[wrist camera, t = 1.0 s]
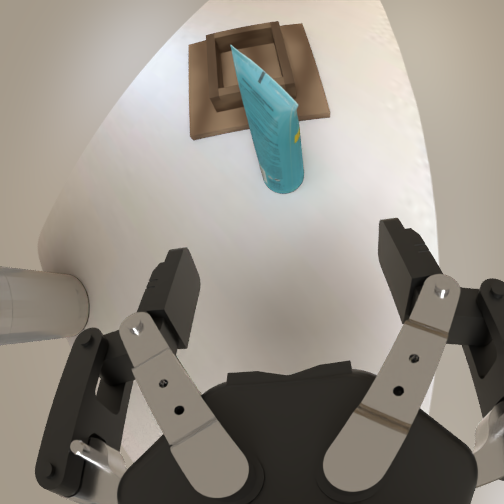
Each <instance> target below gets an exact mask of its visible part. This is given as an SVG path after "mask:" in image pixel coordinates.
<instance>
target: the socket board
mask: <svg viewBox="0 0 504 504" xmlns="http://www.w3.org/2000/svg"><path fill="white" fill-rule="evenodd" d="M230 45H232V46H233V47H234V48H236V49H237V50H238V51H239V52H241V53H242V54H244V55H245V56H247V57H248V58H249V59H251V60H252V61H253V62H254V63H255V64H257V65H258V66H259V67H260V68H261V69H263V70H264V71H265V72H266V73H267V74H268V75H269V76H270V77H271V78H272V79H273V80H275V81H276V82H277V83H278V84H279V85H280V86H281V87H282V88H283V89H284V90H285V91H286V92H287V93H288V94H289V95H290V96H291V97H292V98H293V99H294V100H295V101H296V102H297V104H298V108H297V116H298V121H303V120H311V119H319V118H328V117H330V110H329V107H328V103H327V100H326V96H325V93H324V89H323V86H322V82H321V79H320V76H319V72H318V69H317V66H316V63H315V60H314V57H313V54H312V51H311V48H310V45H309V42H308V39H307V36H306V33H305V30H304V27H303V25H302V23H301V24H292V25H284V26H280V25H279V22H278V21H276V22H270V23H263V24H257V25H251V26H246V27H241V28H236V29H231V30H226V31H222V32H218V33H213V34H209V35H206V40H205V41H202V42H198V43H194V44H190V45H189V117H190V137H191V138H192V139H193V140H197V139H201V138H206V137H210V136H215V135H220V134H225V133H230V132H235V131H240V130H245V129H250V127H249V124H248V120H247V116H246V112H245V108H244V104H243V101H242V97H241V93H240V88H239V84H238V80H237V75H236V71H235V66H234V61H233V55H232V50H231V46H230Z"/></svg>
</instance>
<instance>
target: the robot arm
mask: <svg viewBox="0 0 504 504" xmlns="http://www.w3.org/2000/svg"><path fill="white" fill-rule="evenodd" d="M378 257H379V262H380V265H381V268H382V270H383V273H384V275H385V278H386V281H387V283H388V286H389V288H390V291H391V294H392V296H393V299H394V302H395V304H396V307H397V310H398V313H399V315H400V318H401V321H402V324H404V325H403V327H402V329H401V331H400V333H399V335H398V337H397V339H396V341H395V343H394V345H393V347H392V349H391V351H390V353H389V355H388V356H387V358H386V360H385V362H384V364H383V366H382V368H381V369H380V371H379V373H378V375H375V374H372V373H370V372H366V371H362V370H357V369H352V367H351V362H350V361H344V362H337V363H330V364H323V365H318V366H315V367H313V368H310V369H307V370H304V371H301V372H298V373H295V374H292V375H280V374H272V373H265V372H259V371H254V372H238V373H228V375H227V382H224V383H222V384H219V385H217V386H215V387H213V388H211V389H209V390H208V391H206V392H205V393H204V394H201V392H200V391H199V390H198V388H197V387H196V385H195V384H194V382H193V381H192V379H191V378H190V376H189V375H188V373H187V372H186V370H185V369H184V367H183V366H182V364H181V363H180V361H179V360H178V358H177V357H176V353H177V349H187V347H188V342H189V337H190V332H191V328H192V323H193V318H194V314H195V309H196V305H197V300H198V296H199V291H200V277H199V274H198V271H197V269H196V266H195V264H194V261H193V259H192V256H191V254H190V251H189V250H188V248H186V247H185V248H178V249H172V250H169V252H168V254H167V257H166V259H165V262H163V263H160V264H159V265H158V266H157V267H156V268H155V269H154V271H153V272H152V275H151V277H150V280H149V281H150V282H148V285H147V289H146V290H145V292H144V295H143V297H142V300H141V303H140V305H139V308H138V310H137V313H134V314H132V315H130V316H128V317H127V318H126V319H125V320H124V321H123V322H122V324H121V326H120V329H119V330H117V331H114V332H111V333H108V334H105V335H103V334H102V333H101V331H100V330H99V329H97V328H88V329H86V330H84V331H83V332H81V331H82V330H83V328H84V326H85V325H86V322H87V319H88V313H89V303H88V297H87V294H86V291H85V289H84V287H83V285H82V284H81V282H80V281H79V280H78V279H77V278H76V277H74V276H72V275H68V274H59V273H51V272H43V271H34V270H26V269H18V268H10V267H2V266H0V345H6V344H16V343H25V342H33V341H42V340H50V339H58V338H65V337H72V336H75V335H77V334H79V333H80V332H81V333H80V334H79V335H78V337H77V338H76V340H75V342H74V344H73V347H72V349H71V352H70V355H69V357H68V360H67V363H66V366H65V368H64V371H63V374H62V377H61V379H60V383H59V385H58V389H57V391H56V395H55V397H54V400H53V404H52V407H51V410H50V413H49V417H48V420H47V424H46V427H45V431H44V434H43V438H42V442H41V446H40V450H39V454H38V458H37V462H36V467H35V475H36V479H37V481H38V483H39V485H40V486H41V487H43V488H44V489H47V490H49V491H51V492H54V493H56V494H58V495H59V496H61V497H63V498H66V499H69V500H71V501H74V502H77V503H79V504H470V503H471V500H472V497H473V494H474V491H475V488H478V487H480V486H483V485H486V484H488V483H491V482H493V481H496V480H498V479H499V480H502V481H504V282H503V281H501V280H498V279H487V280H485V281H484V282H483V283H482V284H481V287H480V289H470V288H462V287H460V286H459V284H458V283H457V281H455V280H454V279H453V278H452V277H450V276H447V275H444V274H443V273H442V271H441V269H440V268H439V266H438V264H437V262H436V261H435V259H434V257H433V256H432V254H431V252H429V249H428V247H427V246H426V245H425V242H424V241H423V239H422V238H421V236H420V235H419V234H418V233H417V232H415V231H414V230H412V229H411V228H409V229H405V228H404V227H403V225H402V224H401V222H400V220H399V219H398V218H391V219H384V220H380V222H379V241H378ZM445 344H458V345H462V347H463V350H464V353H465V356H466V359H467V362H468V365H469V368H470V372H471V375H472V378H473V382H474V386H475V389H476V393H477V396H478V400H479V404H480V408H481V412H482V416H483V419H482V420H481V421H480V422H479V424H478V425H477V428H476V431H475V446H474V450H473V452H472V451H471V450H470V448H469V447H468V446H467V445H466V444H465V443H463V442H462V441H461V440H460V439H458V438H457V437H456V436H454V435H453V434H452V433H451V432H449V431H448V430H447V429H446V428H444V427H443V426H442V425H440V424H439V423H438V422H437V421H435V420H434V419H433V418H432V417H430V416H429V415H428V414H427V413H425V412H424V411H423V410H421V409H420V406H421V404H422V402H423V400H424V397H425V395H426V393H427V391H428V388H429V386H430V384H431V381H432V379H433V376H434V374H435V371H436V369H437V366H438V363H439V361H440V358H441V356H442V353H443V350H444V347H445ZM99 377H100V378H101V380H100V384H99V387H98V391H97V395H95V389H96V385H97V382H98V378H99ZM135 379H136V381H137V383H138V385H139V387H140V389H141V391H142V393H143V395H144V398H145V400H146V402H147V404H148V405H149V407H150V409H151V411H152V413H153V415H154V417H155V419H156V421H157V423H158V425H159V426H160V428H161V430H162V432H163V435H162V436H161V437H160V438H159V439H158V440H157V441H156V442H155V443H154V444H153V445H152V446H151V447H150V448H149V449H148V450H147V451H146V452H145V453H144V454H143V455H142V456H141V457H140V458H139V459H138V460H137V461H136V462H134V463H133V464H132V465H131V466H130V467H129V468H128V469H127V468H126V467H125V461H124V458H123V456H122V455H121V454H120V446H121V440H122V435H123V429H124V424H125V419H126V413H127V408H128V404H129V399H130V394H131V389H132V385H133V380H135Z"/></svg>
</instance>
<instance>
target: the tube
mask: <svg viewBox="0 0 504 504" xmlns="http://www.w3.org/2000/svg"><path fill="white" fill-rule="evenodd" d="M230 46H231V50H232V55H233V61H234V66H235V71H236V75H237V80H238V84H239V88H240V93H241V97H242V101H243V104H244V108H245V112H246V116H247V120H248V124H249V127H250V131H251V135H252V139H253V142H254V146H255V150H256V154H257V157H258V161H259V165H260V169H261V172H262V176H263V179H264V182H265V184H266V185H267V187H268V188H269V189H271V190H272V191H274V192H277V193H282V194H283V193H290V192H292V191H294V190H296V189H297V188H298V187H299V186H300V185H301V183H302V181H303V178H304V169H303V159H302V148H301V138H300V128H299V121H298V116H297V108H298V104H297V102H296V101H295V100H294V99H293V98H292V97H291V96H290V95H289V94H288V93H287V92H286V91H285V90H284V89H283V88H282V87H281V86H280V85H279V84H278V83H277V82H276V81H275V80H273V79H272V78H271V77H270V76H269V75H268V74H267V73H266V72H265V71H264V70H263V69H261V68H260V67H259V66H258V65H257V64H255V63H254V62H253V61H252V60H251V59H249V58H248V57H247V56H245V55H244V54H242V53H241V52H239V51H238V50H237V49H236V48H234V47H233V46H232V45H230Z"/></svg>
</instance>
